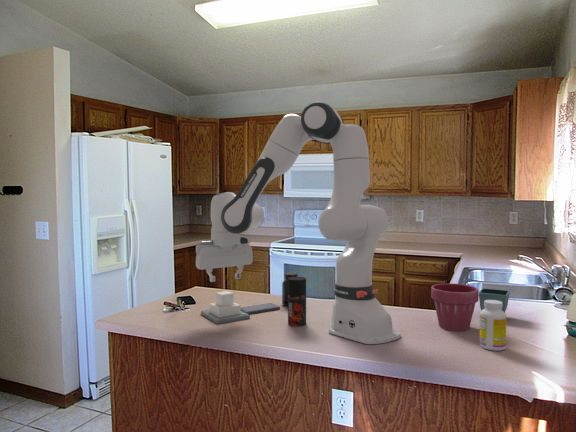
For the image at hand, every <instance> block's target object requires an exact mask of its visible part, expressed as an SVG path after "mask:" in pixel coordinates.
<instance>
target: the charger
mask: <svg viewBox="0 0 576 432" xmlns="http://www.w3.org/2000/svg"><path fill="white" fill-rule="evenodd" d="M234 294H235V293H233V292H232V291H229V290H225V291H224V290H223V291H218V292H215V303H216V305H217V306H219V307H227V306H233V305H234V302H235V301H234Z"/></svg>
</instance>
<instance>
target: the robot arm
mask: <svg viewBox="0 0 576 432" xmlns="http://www.w3.org/2000/svg"><path fill="white" fill-rule="evenodd" d="M309 141H311V142H314V143H320V144H325V145H326V144H327V145H328V144H330V145H331V148H332V155H333V156H332V159H333V189H332V193H331V196H330V201H329V202H328V204H327V206H326V207H325V208H324V209H323V210H322V211H321V213H320V215H319V219H318V229H319V232H320V234H321V236H322V237H324V238H325V239H327V240H330V241H334V242H346V244H345V247H344V249H343V251H342V252H341V253H340V254H338V256H337V258H336V261H335V263H336V265H335V266H336V267H335V268H336V270H335V275H336V276H335V280H336V281H335V283H334V287H333V290H334V295H335V300H334V303H333V305H332V314H331V325H330V328H329V329H328V333H329V334H331V335H334V336H338V337H341V338H345V339H348V340H350V341H351V340H352V341H356V342H357V343H361V344H365V345H377V344H385V343H390V342H393V341H396V340H398V339H399V338H400V337H401V335H402V334H401V332H399V331H397V330H395V329H394V328H393V321H392V316H391V313H389V312H388V311H387V309H385V308H384V306H383V305H382V303H381V302H380V301H379V300H378V299H377V298H376V297H377V295H376V294H378V293H379V292H378V291H379V289H375V287H374V284H373V281H372V278H373V259H374V254H375V252H376V248H377V245H378V243H379V241H380V238H381V237H382V236H383V234H384V233H385V232H386V230H387V229H388V226H389V217H388V215H387V212H386V211H385V209H383V208H382V207H381V206H380V207H379V206H376V205H373V204H361V201H362V200H361V199H362V197H363V194H364V192H365V191H366V190H367V189H368V188H369V186H370V184H371V172H370V171H371V170H370V169H371V168H370V153H369V145H368V139H367V135H366V131H365V130H364V128H362V127H361V126H360V125H357V124H353V123H349V124H348V123H345V122H344V119H343V118H342V116H341V115H340V114H339V113H338V111H337V110H336V109H335V108H333V107H332V106H330V104H328V103H326V102H323V101H314V102H311V103H308V105H306V106H305V107H304V108H303V110H302V112H301V115H298V114H295V113H289V114H286V115H284V116H283V117H282V119H281V120H280V121H279V123H278V124H277V125H276V126H275V128H274V130H273V131H272V133H271V135H270V137H269V139H268V140H267V142H266V144H265V146H264V147H263V150H262V152H261V153H260V156H259V157H258V159H257V160H256V163H255V165H253V167H252V169H251V170H250V171H249V174H248V175H247V178H246V179H245V180H244V182H243V184H242V185H241V188H239V189H238V190H239V191H238V192H237V194H235V193H234V192H231V191H226V192H221V193H217V194H214V195H213V197H212V199H211V202H210V221H211V229H210V236H211V237H210V239H211V240H207V241H199V242H198V243H197V244H196V245H195V253H196V254H195V255H196V256H195V267H196V268H197V270H202V271H203V270H205V272H206V273H207V275H208V276H209V282H210V283H213V282H214V283H215V282H216V281H217V280H216V279H217V277H216V276H215V275H213V270H214V269H219V268H220V269H221V268H231V267H236V269H237V271H236V272H235V273H234V279H236V280H238V279H239V280H240V279H242V278H241V275H242V272H243V270H244V266H247V265H248V266H250V265H252V263H253V261H254V255H253V248H252V245H251V238H250V237H247V236H245V235H240V234H242V233H244V232H247V231H251V230H255V229H257V228H259V227H260V226H261V225H262V224H263V222H264V219H265V213H264V209H263V208H262V206H261V205H260V204H258V203H257V202H258V199H259V198H260V197H261V194H262V193H263V191H264V189H265V188H266V187H267V185H268V184H269V183H270V182H271V181H272V180H274V179H276V178H277V177H279V176H282V175H284V174H286V173H287V172H289V170H290V169H291V168H292V167H293V165H294V164H295V162H296V161H297V159H298V157H299V155H300V154H301V151H302V150H303V148H304V146H305V145H306V143H308V142H309Z"/></svg>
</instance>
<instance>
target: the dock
mask: <svg viewBox="0 0 576 432" xmlns="http://www.w3.org/2000/svg"><path fill="white" fill-rule="evenodd" d="M240 308H241V305H240V304H239V303H237V302H235V301H234V305H233V306H227V307H219V306H217V305H216V302H211V303H209V309H206V310H205V309H203V310H200V315H202V316H203V317H205V318H207V319H208V320H210V321H211V322H213V323H214V324H216V325H219V324H225V323H226V324H227V323H232V322H237V321H243V320H249V319H251V318H250V315H251V314H247V313H245V312H243V311H241V310H240Z"/></svg>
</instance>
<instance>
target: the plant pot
mask: <svg viewBox="0 0 576 432" xmlns="http://www.w3.org/2000/svg"><path fill="white" fill-rule="evenodd" d="M430 289H431V291H430V295H431V299H432V300H433V302H434V306H435V307H434V308H435V313H436V317H437V321H438V326H439V327H440V328H441V329H444V330H447V331H453V332H463V331H468V330H470V326H471V323H472V318H473V315H474V311H475V307H476V303H478V302H479V288H478V287H476V286H474V285H473V286H472V285H468V284H464V283H437V284H433V285H432V286H431V287H430Z"/></svg>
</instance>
